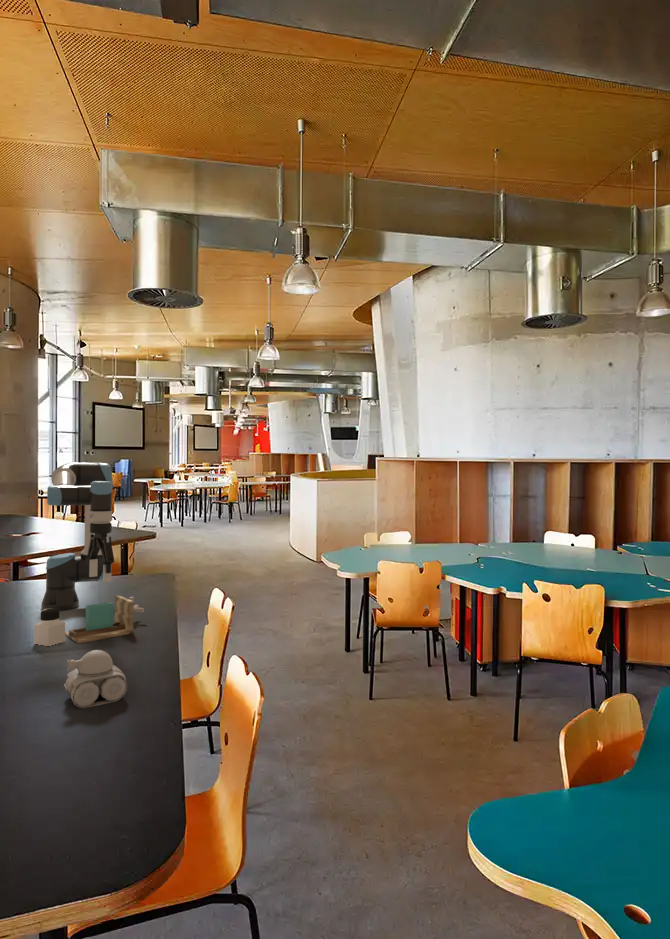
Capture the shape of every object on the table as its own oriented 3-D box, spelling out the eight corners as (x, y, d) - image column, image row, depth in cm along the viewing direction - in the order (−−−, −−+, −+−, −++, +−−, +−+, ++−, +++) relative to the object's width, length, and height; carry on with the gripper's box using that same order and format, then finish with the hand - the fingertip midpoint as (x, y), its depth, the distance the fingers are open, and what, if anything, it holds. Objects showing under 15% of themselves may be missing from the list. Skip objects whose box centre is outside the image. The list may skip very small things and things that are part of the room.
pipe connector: (148, 619, 239) (148, 595, 239) (137, 625, 229) (137, 600, 229) (124, 618, 240) (125, 594, 240) (113, 624, 230) (113, 599, 230)
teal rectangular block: (85, 632, 215) (85, 605, 215) (109, 628, 221) (110, 602, 221) (88, 634, 213) (88, 607, 213) (112, 630, 219) (113, 603, 219)
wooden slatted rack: (65, 634, 215) (65, 602, 215) (118, 625, 229) (118, 595, 229) (78, 643, 205) (78, 609, 205) (133, 633, 218) (133, 601, 218)
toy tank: (68, 712, 147) (69, 661, 147) (60, 698, 156) (61, 650, 156) (128, 699, 156) (129, 651, 156) (118, 687, 164) (119, 641, 164)
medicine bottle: (65, 642, 206) (65, 608, 206) (47, 647, 200) (48, 612, 200) (51, 639, 209) (51, 606, 209) (33, 644, 203) (34, 610, 203)
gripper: (78, 520, 224) (78, 575, 224) (103, 525, 205) (102, 585, 205) (98, 519, 229) (97, 573, 229) (124, 524, 210) (123, 582, 210)
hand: (100, 579), depth 217 cm, fingers open, 13 cm apart
